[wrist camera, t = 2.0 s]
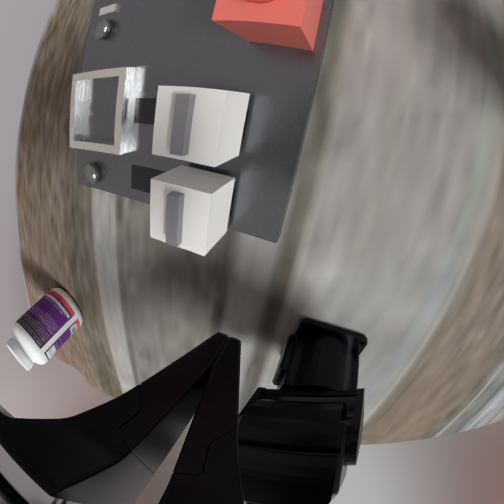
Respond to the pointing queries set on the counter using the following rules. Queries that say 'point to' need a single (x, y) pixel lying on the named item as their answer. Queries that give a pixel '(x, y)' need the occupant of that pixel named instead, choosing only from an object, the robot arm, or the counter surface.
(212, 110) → the block
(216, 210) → the breaker
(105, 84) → the panel
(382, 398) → the counter surface
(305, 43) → the red block with knob
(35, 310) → the pill bottle
